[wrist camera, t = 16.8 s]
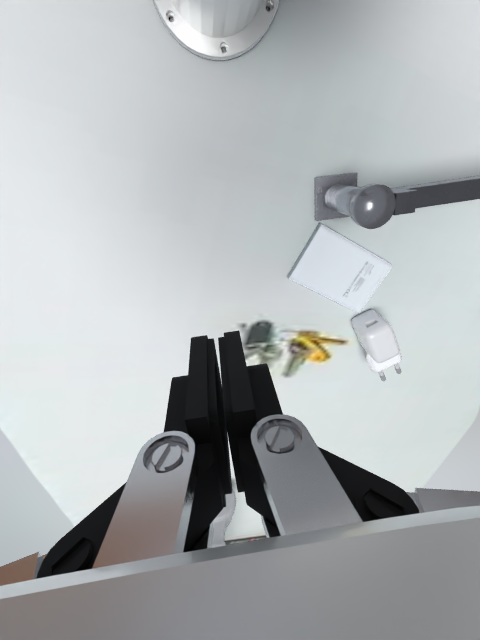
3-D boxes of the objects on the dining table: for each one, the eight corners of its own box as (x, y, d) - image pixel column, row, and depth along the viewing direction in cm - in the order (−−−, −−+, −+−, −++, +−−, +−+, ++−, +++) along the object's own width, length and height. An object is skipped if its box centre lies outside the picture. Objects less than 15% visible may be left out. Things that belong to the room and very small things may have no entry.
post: (314, 177, 39) (344, 181, 31) (354, 172, 39) (395, 175, 31) (314, 219, 41) (342, 234, 33) (352, 214, 41) (389, 227, 33)
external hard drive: (317, 221, 42) (388, 262, 45) (285, 275, 45) (354, 310, 48) (321, 223, 40) (394, 265, 44) (288, 279, 43) (359, 314, 47)
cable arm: (339, 224, 35) (354, 231, 31) (339, 185, 33) (355, 187, 30) (566, 191, 36) (605, 194, 32) (578, 151, 34) (621, 149, 30)
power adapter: (394, 357, 52) (415, 379, 47) (367, 370, 53) (385, 393, 48) (374, 304, 48) (395, 321, 42) (345, 319, 48) (362, 338, 43)
